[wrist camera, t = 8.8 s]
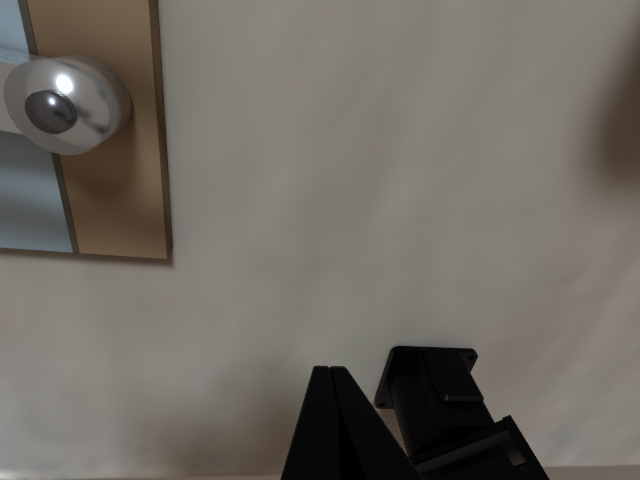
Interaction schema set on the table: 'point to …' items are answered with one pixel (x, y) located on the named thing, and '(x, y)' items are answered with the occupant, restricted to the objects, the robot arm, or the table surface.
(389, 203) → the table surface
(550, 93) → the table surface
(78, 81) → the latch bar
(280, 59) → the table surface
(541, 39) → the table surface
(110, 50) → the door panel
